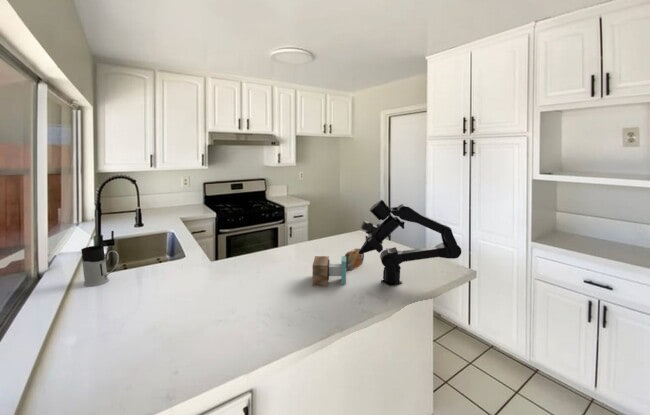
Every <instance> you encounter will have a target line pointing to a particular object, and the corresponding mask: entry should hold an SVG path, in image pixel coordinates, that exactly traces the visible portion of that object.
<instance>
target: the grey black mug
mask: <svg viewBox="0 0 650 415" xmlns="http://www.w3.org/2000/svg"><path fill="white" fill-rule="evenodd" d="M80 251H81V261H82V269H83V277H84V283H83V286H84V287H86V288H91V287H99V286H102V285H105V284H108V283H109V281H110V280H109V277H108V275H110V274H111V273H112V272H113V271H115V269H116V268H117V267H118V264H119V261H120V260H119V257H120V256H119V253H118V252H117V251H116V250H110V251H108V252H107V253H106V256H105V247H104V245H90V246H87V247H86V246H85V247H83V248H81V249H80ZM111 252H112V253H115V254H116V264H115V265H114V267H113V269H111V270H110V271H109V272H108V270H107V261H108V260H109V254H110V253H111Z"/></svg>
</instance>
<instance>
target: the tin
mask: <svg viewBox="0 0 650 415" xmlns="http://www.w3.org/2000/svg"><path fill="white" fill-rule="evenodd" d="M360 249H361V248H354V249H352V250H349V251H348V252H346V253H345V254H344V256H346V270H350V271H352V270H355V269H357V268H358V267H360V266H362V264H363V263H364V259H365V253H363V254H359V250H360Z"/></svg>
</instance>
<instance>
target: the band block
mask: <svg viewBox="0 0 650 415" xmlns="http://www.w3.org/2000/svg"><path fill="white" fill-rule="evenodd" d="M329 258H330V256H327V255H326V256H325V255H324V256H323V255H319V256H318V255H315V256H314V258H313V262H312V287H325V288H326V287H328V283H329V281H330V276H329V264H330V262H331V261H330V259H329Z"/></svg>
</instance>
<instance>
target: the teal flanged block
mask: <svg viewBox="0 0 650 415" xmlns="http://www.w3.org/2000/svg"><path fill="white" fill-rule="evenodd" d="M340 259H341V261H340V262H341V263H329V277H340V284H345V285H346V284H347V269H346V256H345V255H341V258H340Z"/></svg>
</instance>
